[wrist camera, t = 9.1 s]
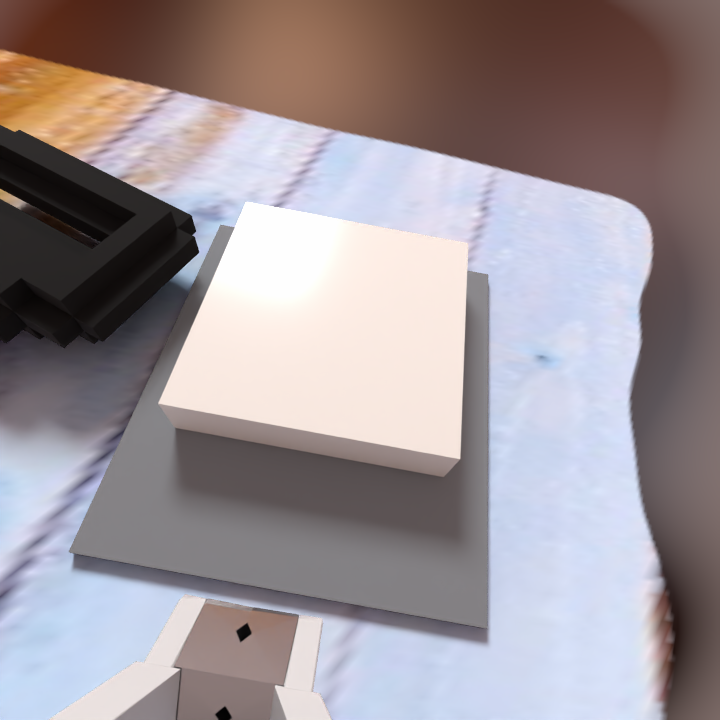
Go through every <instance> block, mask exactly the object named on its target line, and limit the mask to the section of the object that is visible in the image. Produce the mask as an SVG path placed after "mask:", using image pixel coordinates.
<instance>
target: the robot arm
mask: <svg viewBox="0 0 720 720" xmlns="http://www.w3.org/2000/svg"><path fill="white" fill-rule="evenodd" d="M298 619H299V620H298ZM322 626H323V620H322V618H317V617H311V616H304V615H300V616H299V615H297V614H291V613H285V612H279V611H273V610H267V609H261V608H255V607H254V608H253V607H248V606H243V605H238V604H233V603H228V602H223V601H218V600H213V599H205V598H201V597H196V596H191V595H186V594H185V595H184V596H183V597H182V598H181V599H180V600H179V602H178V603H177V605H176V607H175V608H174V610H173V612H172V614H171V615H170V617H169V619H168V621H167V622H166V624H165V626H164V628H163V629H162V631H161V633H160V635H159V636H158V638H157V640H156V642H155V643H154V645H153V647H152V649H151V650H150V652H149V654H148V656H147V657H146V659H145V661H144V662H137V661H136V662H134V663H133V664H131V665H130V666H128V667H127V668H125V669H124V670H122V671H121V672H119V673H118V674H116V675H115V676H113V677H112V678H110V679H109V680H107V681H106V682H104V683H103V684H101V685H100V686H98V687H97V688H95V689H94V690H92V691H91V692H89V693H88V694H86V695H85V696H83V697H82V698H80V699H79V700H77V701H76V702H74V703H73V704H71V705H70V706H68V707H67V708H65V709H64V710H62V711H61V712H59V713H58V714H56V715H55V716H53V717H52V718H50V719H49V720H332V719H331V716H330V714H329V712H328V710H327V708H326V705H325V703H324V701H323V699H322V696H321V694H320V693H315V692H313V687H314V681H315V674H316V667H317V660H318V653H319V646H320V639H321V633H322Z"/></svg>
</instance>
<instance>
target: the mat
mask: <svg viewBox="0 0 720 720" xmlns="http://www.w3.org/2000/svg"><path fill="white" fill-rule="evenodd" d="M234 229H235V227H229V226H224V225H220V227H219V229H218V232H217V234H216V236H215V238H214V240H213V242H212V245H211V247H210V249H209V251H208V253H207V255H206V257H205V260H204V262H203V264H202V266H201V268H200V270H199V272H198V275H197V277H196V279H195V281H194V283H193V285H192V288H191V290H190V292H189V294H188V296H187V298H186V300H185V303H184V305H183V307H182V309H181V311H180V313H179V316H178V318H177V320H176V322H175V324H174V326H173V328H172V331H171V333H170V335H169V337H168V339H167V341H166V344H165V346H164V348H163V350H162V352H161V354H160V356H159V359H158V361H157V363H156V365H155V367H154V369H153V372H152V374H151V376H150V378H149V380H148V382H147V384H146V387H145V389H144V391H143V393H142V395H141V397H140V400H139V402H138V404H137V406H136V408H135V410H134V412H133V415H132V417H131V419H130V421H129V423H128V425H127V427H126V430H125V432H124V434H123V436H122V438H121V440H120V443H119V445H118V447H117V449H116V451H115V453H114V455H113V458H112V460H111V462H110V464H109V466H108V468H107V471H106V473H105V475H104V477H103V479H102V481H101V483H100V486H99V488H98V490H97V492H96V494H95V496H94V499H93V501H92V503H91V505H90V507H89V509H88V511H87V514H86V516H85V518H84V520H83V522H82V524H81V527H80V529H79V531H78V533H77V535H76V537H75V539H74V542H73V544H72V546H71V548H70V550H69V552H70V553H73V554H79V555H84V556H90V557H95V558H100V559H106V560H111V561H117V562H122V563H128V564H133V565H139V566H144V567H150V568H155V569H161V570H166V571H172V572H177V573H183V574H188V575H194V576H199V577H205V578H210V579H216V580H221V581H227V582H232V583H238V584H243V585H249V586H254V587H260V588H265V589H271V590H276V591H282V592H287V593H293V594H298V595H304V596H309V597H315V598H320V599H326V600H331V601H337V602H342V603H348V604H353V605H358V606H364V607H369V608H375V609H380V610H386V611H391V612H397V613H402V614H408V615H413V616H419V617H424V618H430V619H435V620H441V621H446V622H452V623H457V624H463V625H468V626H474V627H479V628H487V485H488V275H487V274H482V273H477V272H471V271H467V289H466V316H465V343H464V370H463V398H462V425H461V452H460V460H459V461H458V462H457V463H456V464H455V465H454V466H453V468H452V469H451V470H450V471H449V472H448V473H447V474H446V475H445V476H444V477H440V476H435V475H429V474H424V473H418V472H413V471H407V470H402V469H397V468H391V467H386V466H380V465H375V464H369V463H364V462H359V461H353V460H348V459H342V458H337V457H331V456H326V455H320V454H315V453H310V452H304V451H299V450H293V449H288V448H282V447H277V446H271V445H266V444H261V443H255V442H250V441H244V440H239V439H233V438H228V437H222V436H217V435H212V434H206V433H201V432H195V431H190V430H184V429H179V428H175V427H174V426H173V424H172V423H171V421H170V420H169V419H168V417H167V416H166V414H165V413H164V411H163V410H162V408H161V407H160V406H159V404H158V403H159V401H160V398H161V396H162V394H163V391H164V389H165V387H166V385H167V382H168V380H169V378H170V375H171V373H172V371H173V368H174V366H175V364H176V362H177V359H178V357H179V355H180V352H181V350H182V348H183V346H184V343H185V341H186V339H187V336H188V334H189V332H190V330H191V327H192V325H193V323H194V320H195V318H196V316H197V314H198V311H199V309H200V307H201V304H202V302H203V300H204V298H205V295H206V293H207V291H208V288H209V286H210V284H211V282H212V279H213V277H214V275H215V272H216V270H217V268H218V266H219V263H220V261H221V259H222V256H223V254H224V252H225V250H226V247H227V245H228V243H229V240H230V238H231V236H232V234H233V231H234Z"/></svg>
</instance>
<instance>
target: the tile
mask: <svg viewBox="0 0 720 720" xmlns="http://www.w3.org/2000/svg"><path fill="white" fill-rule="evenodd" d="M467 261H468V243H464V242H459V241H453V240H448V239H443V238H437V237H432V236H426V235H421V234H416V233H410V232H405V231H400V230H394V229H389V228H384V227H378V226H373V225H367V224H362V223H357V222H351V221H346V220H341V219H335V218H330V217H324V216H319V215H314V214H308V213H303V212H298V211H292V210H287V209H282V208H276V207H271V206H265V205H260V204H255V203H249V202H246V204H245V206H244V208H243V211H242V213H241V215H240V218H239V220H238V222H237V224H236V227H235V229H234V231H233V234H232V236H231V238H230V240H229V243H228V245H227V247H226V250H225V252H224V254H223V256H222V259H221V261H220V263H219V266H218V268H217V270H216V272H215V275H214V277H213V279H212V282H211V284H210V286H209V288H208V291H207V293H206V295H205V298H204V300H203V302H202V304H201V307H200V309H199V311H198V314H197V316H196V318H195V320H194V323H193V325H192V327H191V330H190V332H189V334H188V336H187V339H186V341H185V343H184V346H183V348H182V350H181V352H180V355H179V357H178V359H177V362H176V364H175V366H174V368H173V371H172V373H171V375H170V378H169V380H168V382H167V385H166V387H165V389H164V391H163V394H162V396H161V398H160V401H159V403H158V404H159V406H160V407H161V408H162V410H163V411H164V413H165V414H166V416H167V417H168V419H169V420H170V421H171V423H172V424H173V426H174V427H175V428H179V429H184V430H190V431H195V432H201V433H206V434H212V435H217V436H222V437H228V438H233V439H239V440H244V441H250V442H255V443H261V444H266V445H271V446H277V447H282V448H288V449H293V450H299V451H304V452H310V453H315V454H320V455H326V456H331V457H337V458H342V459H348V460H353V461H359V462H364V463H369V464H375V465H380V466H386V467H391V468H397V469H402V470H407V471H413V472H418V473H424V474H429V475H435V476H440V477H444V476H445V475H446V474H447V473H448V472H449V471H450V470H451V469H452V468H453V466H454V465H455V464H456V463H457V462H458V461H459V460H460V452H461V425H462V398H463V370H464V343H465V316H466V289H467Z"/></svg>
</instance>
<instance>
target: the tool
mask: <svg viewBox="0 0 720 720" xmlns="http://www.w3.org/2000/svg"><path fill="white" fill-rule="evenodd" d="M0 189H2V190H4V191H6V192H8V193H10V194H11V195H13V196H15V197H17V198H19V199H21V200H23V201H25V202H26V203H28V204H30V205H32V206H34V207H36V208H38V209H40V210H41V211H43V212H45V213H47V214H49V215H51V216H53V217H55V218H56V219H58V220H60V221H62V222H64V223H66V224H68V225H70V226H71V227H73V228H75V229H77V230H79V231H81V232H83V233H84V234H86V235H88V236H90V237H92V238H94V239H96V240H98V241H99V242H101V243H99V244H98V245H97V246H95V247H94V248H93V249H92V248H90V247H88V246H86V245H84V244H82V243H80V242H79V241H77V240H75V239H73V238H71V237H69V236H68V235H66V234H64V233H62V232H60V231H58V230H56V229H55V228H53V227H51V226H49V225H47V224H45V223H43V222H42V221H40V220H38V219H36V218H34V217H32V216H31V215H29V214H27V213H25V212H23V211H21V210H19V209H18V208H16V207H14V206H12V205H10V204H8V203H6V202H5V201H3V200H1V199H0V340H2V341H3V342H5V343H7V342H9V341H10V340H11V339H12V338H14V337H15V336H16V335H17V334H19V333H20V332H21V331H22V330H23V329H24V330H25V331H27V332H29V333H30V334H32V335H34V336H35V337H37V338H39V339H42V338H43V337H44V336H45V337H47V338H48V339H50V340H52V341H53V342H55V343H57V344H58V345H60V346H62V347H63V348H65V347H66V346H68V345H69V344H70V343H71V342H72V341H73V340H74V339H75V338H77V337H78V336H79V335H80V336H81V337H83V338H85V339H87V340H88V341H90V342H92V343H93V344H95V343H96V342H97V341H98V340H100V341H102V342H103V341H104V340H105V339H106V338H107V337H108V336H110V335H111V334H112V333H113V332H114V331H115V330H116V329H117V328H118V327H119V326H120V325H121V324H122V323H124V322H125V321H126V320H127V319H128V318H129V317H130V316H131V315H132V314H133V313H134V312H135V311H137V310H138V309H139V308H140V307H141V306H142V305H143V304H144V303H145V302H146V301H147V300H148V299H149V298H151V297H152V296H153V295H154V294H155V293H156V292H157V291H158V290H159V289H160V288H161V287H162V286H164V285H165V284H166V283H167V282H168V281H169V280H170V279H171V278H172V277H173V276H174V275H175V274H177V273H178V272H179V271H180V270H181V269H182V268H183V267H184V266H185V265H186V264H187V263H188V262H189V261H191V260H192V259H193V258H194V257H195V256H196V255H197V254H198V253H199V250H198V247H197V243H196V240H195V237H194V236H192V235H193V234H194V233H195V232H196V229H195V226H194V222H193V219H192V216H191V215H190V214H187V213H185V212H183V211H181V210H179V209H177V208H175V207H173V206H171V205H169V204H167V203H165V202H163V201H161V200H159V199H157V198H155V197H153V196H151V195H149V194H147V193H145V192H143V191H141V190H139V189H137V188H135V187H133V186H131V185H129V184H127V183H125V182H123V181H121V180H119V179H117V178H115V177H113V176H111V175H109V174H107V173H105V172H103V171H101V170H99V169H97V168H95V167H93V166H91V165H89V164H87V163H85V162H83V161H81V160H79V159H77V158H75V157H73V156H71V155H69V154H67V153H65V152H63V151H61V150H59V149H57V148H55V147H53V146H51V145H49V144H47V143H45V142H43V141H41V140H39V139H37V138H35V137H33V136H31V135H29V134H27V133H25V132H23V131H21V130H18V131H16V132H13V131H11V130H9V129H7V128H5V127H3V126H1V125H0Z"/></svg>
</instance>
